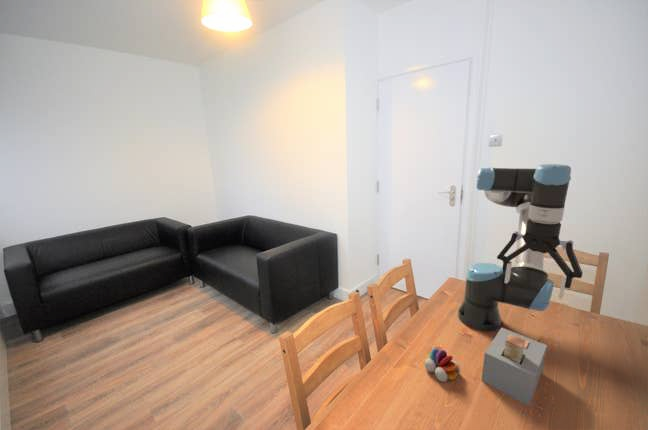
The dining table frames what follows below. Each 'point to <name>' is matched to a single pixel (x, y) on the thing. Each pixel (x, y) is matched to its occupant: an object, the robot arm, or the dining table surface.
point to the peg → (514, 348)
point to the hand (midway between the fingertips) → (532, 288)
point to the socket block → (514, 367)
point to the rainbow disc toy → (442, 365)
